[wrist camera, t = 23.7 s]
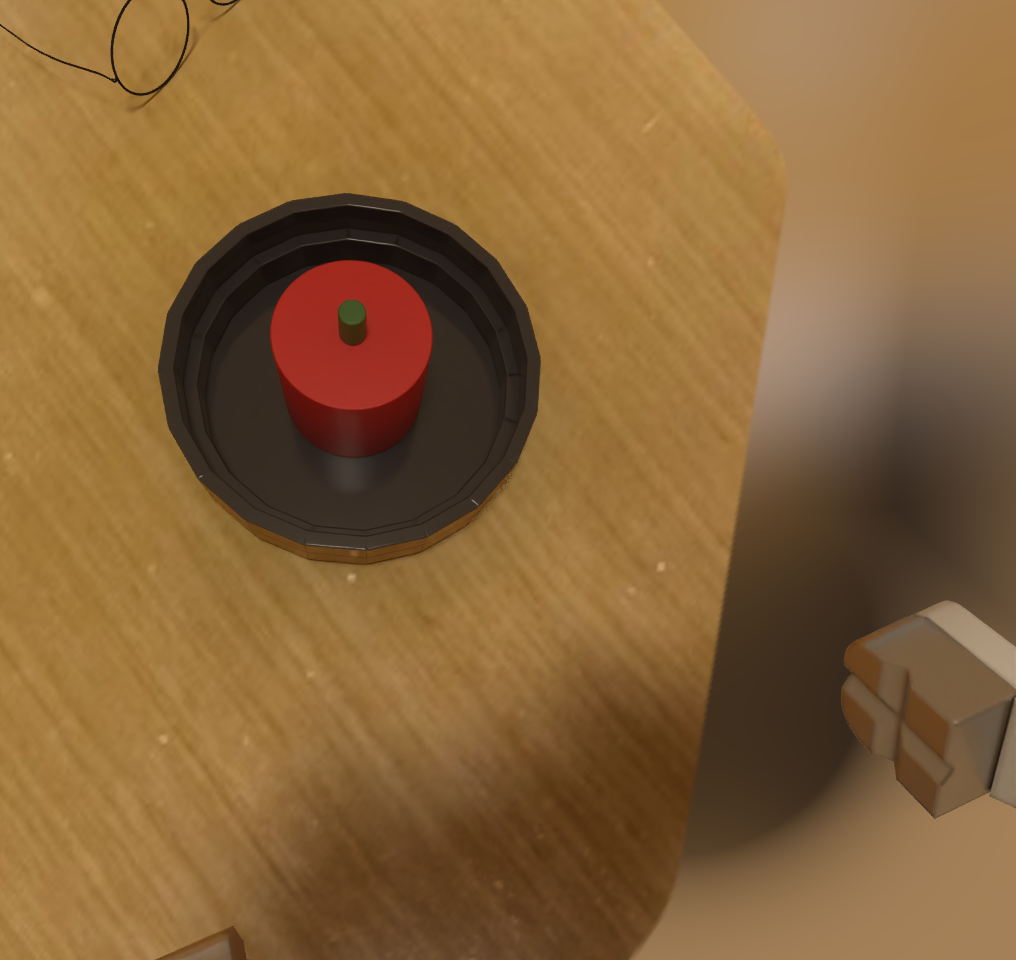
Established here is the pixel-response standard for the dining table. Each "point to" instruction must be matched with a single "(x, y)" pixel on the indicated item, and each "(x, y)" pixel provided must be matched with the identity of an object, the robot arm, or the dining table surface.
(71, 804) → the dining table surface
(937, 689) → the robot arm
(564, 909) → the dining table surface
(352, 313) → the pepper
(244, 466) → the pan
